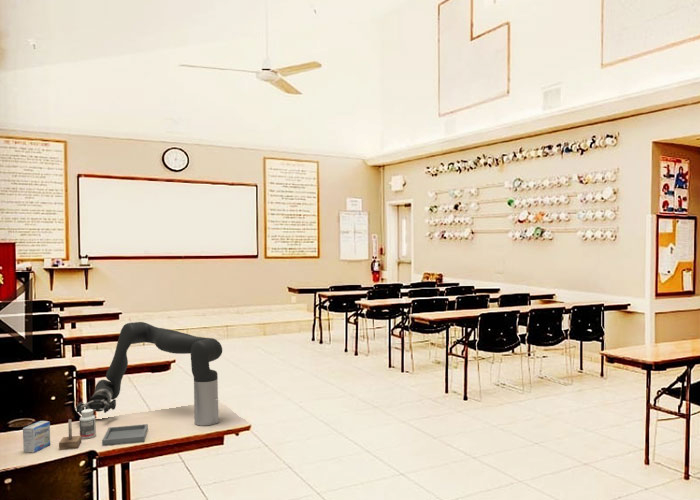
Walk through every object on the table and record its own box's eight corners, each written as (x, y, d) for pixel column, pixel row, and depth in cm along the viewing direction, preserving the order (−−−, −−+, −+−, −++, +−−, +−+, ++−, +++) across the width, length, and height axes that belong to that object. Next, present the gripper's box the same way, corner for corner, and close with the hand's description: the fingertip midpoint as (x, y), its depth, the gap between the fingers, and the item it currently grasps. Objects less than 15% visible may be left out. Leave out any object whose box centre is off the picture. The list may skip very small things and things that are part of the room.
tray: (147, 429, 214) (147, 424, 214) (143, 441, 201) (143, 436, 200) (108, 432, 211) (108, 427, 210) (102, 445, 197) (102, 440, 197)
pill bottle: (83, 434, 209) (82, 408, 209) (97, 433, 210) (97, 408, 210) (77, 439, 204) (77, 413, 204) (92, 438, 204) (92, 412, 204)
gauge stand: (81, 442, 201) (80, 416, 201) (77, 448, 195) (77, 421, 195) (63, 444, 199) (62, 417, 199) (59, 450, 193) (58, 423, 193)
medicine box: (34, 453, 191) (33, 428, 191) (22, 452, 192) (22, 427, 192) (50, 444, 199) (50, 421, 199) (39, 444, 200) (39, 420, 199)
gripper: (82, 392, 231) (73, 403, 216) (118, 389, 235) (112, 400, 219) (82, 410, 231) (73, 422, 216) (119, 407, 235) (112, 419, 219)
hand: (93, 411), depth 217 cm, fingers open, 8 cm apart
